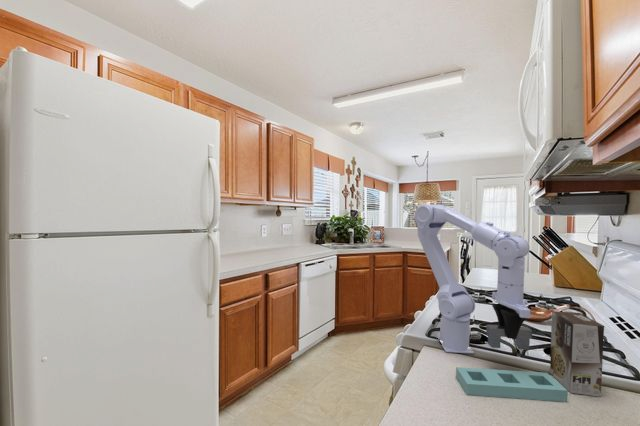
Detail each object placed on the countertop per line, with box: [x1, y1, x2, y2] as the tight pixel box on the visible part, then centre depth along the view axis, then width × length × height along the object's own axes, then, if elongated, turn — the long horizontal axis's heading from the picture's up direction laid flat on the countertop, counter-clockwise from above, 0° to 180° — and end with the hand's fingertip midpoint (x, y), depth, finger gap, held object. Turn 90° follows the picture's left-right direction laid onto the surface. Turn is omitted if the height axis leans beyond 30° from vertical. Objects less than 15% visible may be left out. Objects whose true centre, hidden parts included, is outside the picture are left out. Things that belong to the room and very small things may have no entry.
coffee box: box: [549, 310, 605, 397], centre depth 73 cm, size 9×6×16 cm
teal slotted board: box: [455, 366, 569, 403], centre depth 71 cm, size 21×7×2 cm, turn 85°
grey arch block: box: [485, 324, 533, 351], centre depth 79 cm, size 2×10×5 cm, turn 85°
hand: (508, 335), depth 79 cm, fingers closed on grey arch block, 2 cm apart
